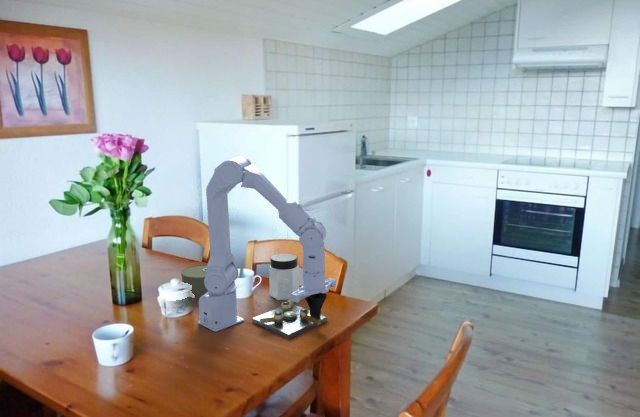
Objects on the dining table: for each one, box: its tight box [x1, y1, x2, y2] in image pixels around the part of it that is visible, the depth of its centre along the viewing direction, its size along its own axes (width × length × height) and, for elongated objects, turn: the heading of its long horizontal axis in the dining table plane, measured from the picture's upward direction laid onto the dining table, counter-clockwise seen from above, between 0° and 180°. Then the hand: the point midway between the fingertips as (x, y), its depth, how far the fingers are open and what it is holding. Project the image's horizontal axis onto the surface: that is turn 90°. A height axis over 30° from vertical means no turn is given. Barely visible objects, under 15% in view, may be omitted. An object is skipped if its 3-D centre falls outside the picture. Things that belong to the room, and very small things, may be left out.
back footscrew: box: [281, 299, 294, 312], centre depth 141 cm, size 6×2×2 cm, turn 167°
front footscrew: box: [300, 307, 322, 326], centre depth 133 cm, size 7×2×2 cm, turn 43°
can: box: [180, 264, 208, 300], centre depth 156 cm, size 12×12×7 cm
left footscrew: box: [260, 311, 283, 324], centre depth 132 cm, size 6×2×2 cm, turn 107°
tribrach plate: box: [251, 303, 328, 340], centre depth 135 cm, size 14×14×3 cm
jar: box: [268, 253, 300, 301], centre depth 153 cm, size 9×8×12 cm
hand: (314, 319), depth 132 cm, fingers closed, pressing on front footscrew
